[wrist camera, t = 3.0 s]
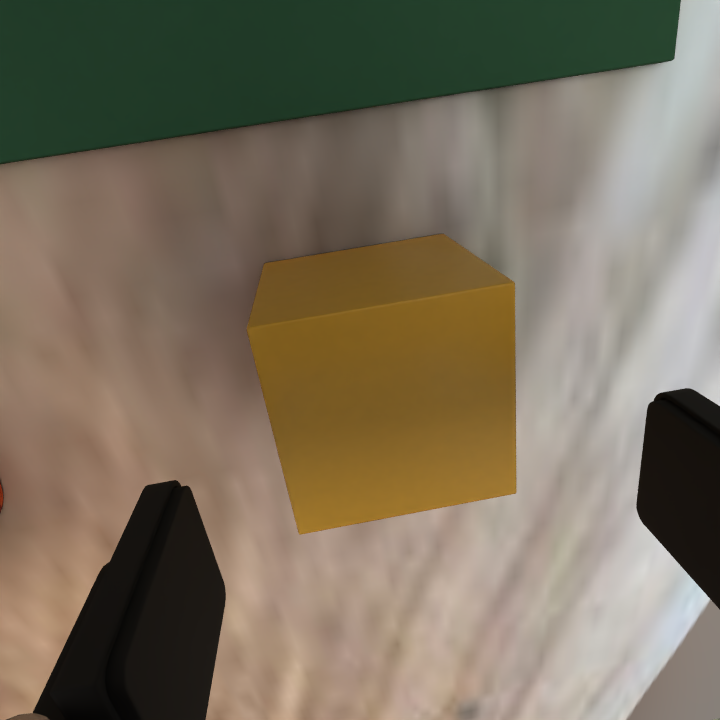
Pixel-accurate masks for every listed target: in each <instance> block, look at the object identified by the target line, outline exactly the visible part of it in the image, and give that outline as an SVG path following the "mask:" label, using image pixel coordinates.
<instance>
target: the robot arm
mask: <svg viewBox="0 0 720 720" xmlns="http://www.w3.org/2000/svg"><path fill="white" fill-rule="evenodd" d="M637 512H638V515H639V517H640V519H641V521H642V522H643V524H644V525H645V526H646V527H647V528H648V529H649V531H650V532H651V533H652V534H653V535H654V536H655V537H656V538H657V540H658V541H659V542H660V543H661V544H662V545H663V546H664V547H665V548H666V550H667V551H668V552H669V553H670V554H671V555H672V556H673V557H674V559H675V560H676V561H677V562H678V563H679V564H680V565H681V566H682V568H683V569H684V570H685V571H686V572H687V573H688V574H689V575H690V577H691V578H692V579H693V580H694V581H695V582H696V583H697V584H698V586H699V587H700V588H701V589H702V590H703V591H704V592H705V593H706V594H707V596H708V597H709V598H710V599H711V600H712V601H713V602H714V603H715V604H716V606H717V607H718V608H719V609H720V406H718V405H717V404H715V403H714V402H712V401H710V400H709V399H707V398H706V397H704V396H703V395H701V394H699V393H698V392H696V391H695V390H692V389H689V388H685V389H680V390H674V391H669V392H663V393H659V394H658V395H656V397H655V398H654V402H651V403H650V404H649V405H648V408H647V416H646V425H645V433H644V442H643V451H642V460H641V469H640V478H639V486H638V495H637ZM225 600H226V593H225V585H224V581H223V579H222V576H221V573H220V570H219V567H218V564H217V562H216V559H215V556H214V553H213V550H212V547H211V545H210V542H209V539H208V536H207V533H206V530H205V528H204V525H203V522H202V519H201V516H200V513H199V511H198V508H197V505H196V502H195V499H194V497H193V494H192V491H191V489H190V487H189V486H182V487H181V485H180V483H179V482H178V481H176V480H174V481H168V482H162V483H157V484H151V485H147V486H145V488H144V489H143V491H142V493H141V495H140V498H139V500H138V502H137V504H136V506H135V508H134V511H133V513H132V515H131V517H130V519H129V521H128V524H127V526H126V528H125V530H124V532H123V534H122V537H121V539H120V541H119V543H118V545H117V547H116V550H115V552H114V554H113V556H112V558H111V560H110V562H109V563H107V564H106V565H105V566H103V568H102V569H101V571H100V573H99V574H98V576H97V578H96V581H95V583H94V585H93V587H92V589H91V591H90V593H89V595H88V597H87V600H86V602H85V604H84V606H83V608H82V610H81V612H80V614H79V616H78V618H77V621H76V623H75V625H74V627H73V629H72V631H71V633H70V635H69V637H68V640H67V642H66V644H65V646H64V648H63V650H62V652H61V654H60V656H59V659H58V661H57V663H56V665H55V667H54V669H53V671H52V673H51V675H50V678H49V680H48V682H47V684H46V686H45V688H44V690H43V692H42V694H41V696H40V699H39V701H38V703H37V705H36V707H35V709H34V711H33V713H30V714H21V715H17V716H14V717H12V718H9V719H7V720H205V719H206V713H207V707H208V701H209V695H210V690H211V684H212V678H213V672H214V666H215V660H216V654H217V648H218V642H219V637H220V631H221V625H222V619H223V613H224V607H225ZM714 720H720V718H719V719H714Z"/></svg>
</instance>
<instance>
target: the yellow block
mask: <svg viewBox="0 0 720 720" xmlns="http://www.w3.org/2000/svg"><path fill="white" fill-rule="evenodd" d="M247 333H248V337H249V341H250V345H251V349H252V353H253V357H254V361H255V365H256V369H257V372H258V376H259V380H260V384H261V388H262V392H263V396H264V400H265V404H266V408H267V412H268V415H269V419H270V423H271V427H272V431H273V435H274V439H275V443H276V447H277V451H278V455H279V458H280V462H281V466H282V470H283V474H284V478H285V482H286V486H287V490H288V494H289V498H290V501H291V505H292V509H293V513H294V517H295V521H296V525H297V529H298V533H299V534H305V533H311V532H316V531H321V530H326V529H332V528H337V527H342V526H347V525H353V524H358V523H363V522H368V521H374V520H379V519H384V518H390V517H395V516H400V515H405V514H411V513H416V512H421V511H426V510H432V509H437V508H442V507H447V506H453V505H458V504H463V503H468V502H474V501H479V500H484V499H489V498H495V497H500V496H505V495H510V494H515V493H516V371H515V283H514V282H513V281H512V280H510V279H509V278H508V277H506V276H505V275H503V274H502V273H500V272H499V271H497V270H496V269H494V268H493V267H491V266H490V265H489V264H487V263H486V262H484V261H483V260H481V259H480V258H478V257H477V256H475V255H474V254H472V253H471V252H469V251H468V250H467V249H465V248H464V247H462V246H461V245H459V244H458V243H456V242H455V241H453V240H452V239H450V238H449V237H448V236H446V235H445V234H438V235H432V236H426V237H420V238H414V239H408V240H402V241H396V242H390V243H384V244H377V245H371V246H365V247H359V248H353V249H347V250H341V251H335V252H329V253H323V254H317V255H311V256H305V257H299V258H293V259H287V260H281V261H275V262H269V263H264V266H263V269H262V273H261V277H260V281H259V284H258V288H257V292H256V296H255V299H254V303H253V307H252V311H251V314H250V318H249V322H248V325H247Z"/></svg>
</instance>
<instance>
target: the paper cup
mask: <svg viewBox="0 0 720 720" xmlns="http://www.w3.org/2000/svg"><path fill="white" fill-rule="evenodd" d="M2 505H3V491H2V487H1V483H0V512H1V510H2Z"/></svg>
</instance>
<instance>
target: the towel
mask: <svg viewBox="0 0 720 720" xmlns="http://www.w3.org/2000/svg"><path fill="white" fill-rule="evenodd" d="M680 2H681V0H0V164H5V163H11V162H18V161H24V160H31V159H37V158H44V157H50V156H57V155H63V154H70V153H76V152H83V151H89V150H96V149H102V148H109V147H115V146H122V145H128V144H135V143H141V142H148V141H154V140H161V139H168V138H174V137H181V136H187V135H194V134H200V133H207V132H213V131H220V130H226V129H233V128H239V127H246V126H252V125H259V124H265V123H272V122H278V121H285V120H291V119H298V118H304V117H311V116H317V115H324V114H330V113H337V112H343V111H350V110H356V109H363V108H369V107H376V106H382V105H389V104H395V103H402V102H408V101H415V100H421V99H428V98H435V97H441V96H448V95H454V94H461V93H467V92H474V91H480V90H487V89H493V88H500V87H506V86H513V85H519V84H526V83H532V82H539V81H545V80H552V79H558V78H565V77H571V76H578V75H584V74H591V73H597V72H604V71H610V70H617V69H623V68H630V67H636V66H643V65H649V64H656V63H662V62H667V61H672V60H673V59H674V56H675V47H676V38H677V29H678V20H679V11H680Z"/></svg>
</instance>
